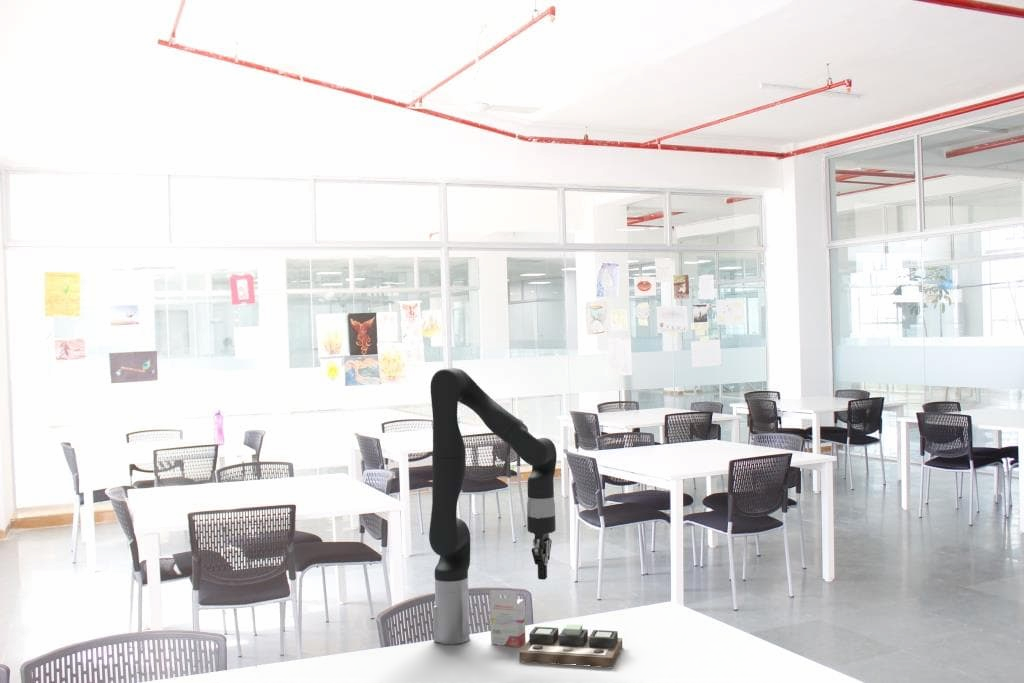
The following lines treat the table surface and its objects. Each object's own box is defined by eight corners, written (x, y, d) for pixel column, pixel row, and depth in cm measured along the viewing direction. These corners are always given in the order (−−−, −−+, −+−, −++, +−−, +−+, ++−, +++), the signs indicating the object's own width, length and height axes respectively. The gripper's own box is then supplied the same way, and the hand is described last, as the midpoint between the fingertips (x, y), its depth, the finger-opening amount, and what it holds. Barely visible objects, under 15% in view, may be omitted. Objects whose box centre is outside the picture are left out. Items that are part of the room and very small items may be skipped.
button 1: (535, 640, 247) (534, 632, 247) (538, 635, 251) (538, 628, 251) (549, 641, 246) (549, 633, 246) (553, 636, 250) (553, 629, 250)
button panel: (519, 661, 239) (519, 642, 239) (535, 642, 255) (534, 624, 255) (612, 667, 233) (611, 647, 233) (622, 647, 248) (621, 628, 248)
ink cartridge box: (526, 641, 255) (524, 588, 255) (519, 647, 251) (518, 592, 251) (497, 639, 258) (496, 585, 259) (490, 644, 254) (488, 590, 254)
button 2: (594, 643, 243) (594, 636, 243) (597, 639, 246) (597, 631, 246) (609, 644, 241) (609, 637, 242) (612, 640, 245) (612, 632, 245)
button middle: (564, 636, 245) (564, 628, 245) (567, 631, 249) (567, 624, 249) (579, 637, 244) (579, 629, 244) (582, 632, 248) (582, 625, 248)
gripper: (533, 509, 256) (535, 572, 256) (521, 517, 243) (522, 584, 243) (560, 509, 254) (561, 573, 254) (549, 518, 241) (550, 585, 241)
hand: (542, 578), depth 248 cm, fingers closed
